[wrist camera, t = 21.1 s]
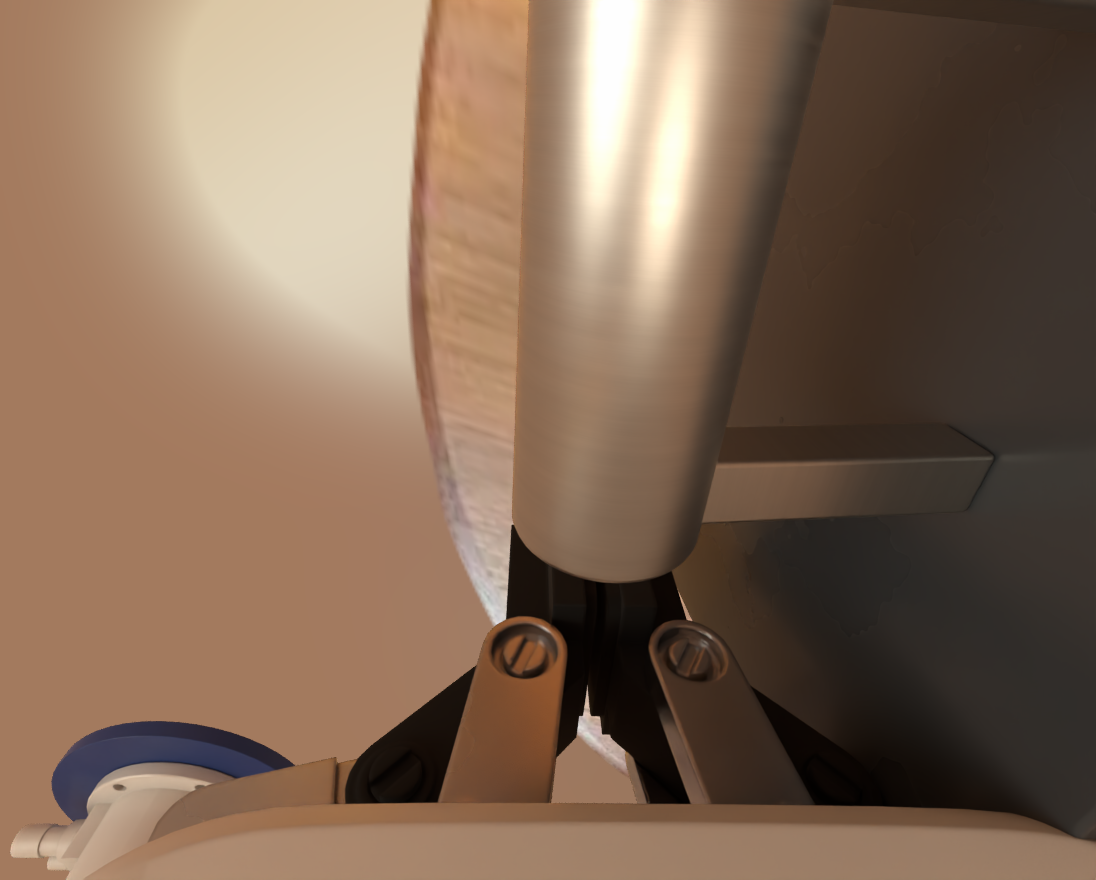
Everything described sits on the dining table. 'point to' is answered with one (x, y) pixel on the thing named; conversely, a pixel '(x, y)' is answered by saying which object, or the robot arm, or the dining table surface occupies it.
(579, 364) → the bin lid
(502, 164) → the dining table surface
